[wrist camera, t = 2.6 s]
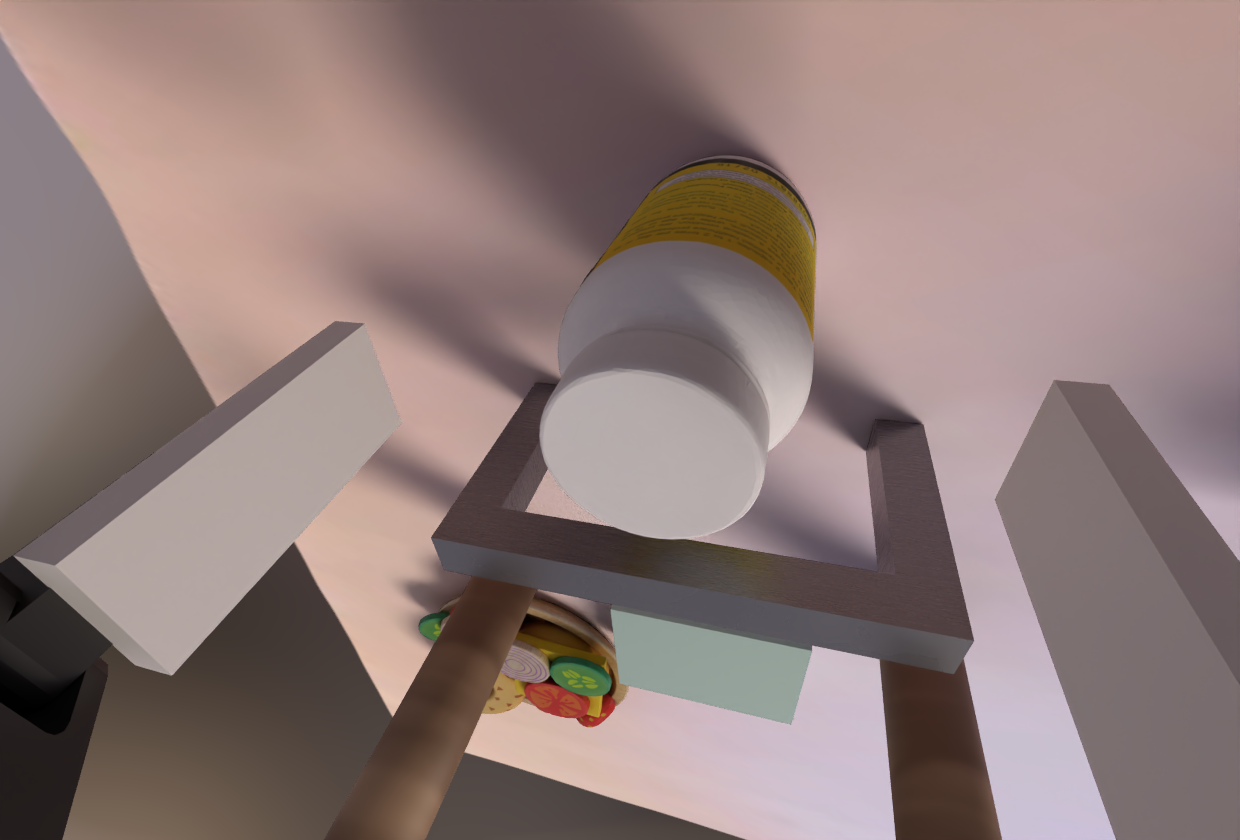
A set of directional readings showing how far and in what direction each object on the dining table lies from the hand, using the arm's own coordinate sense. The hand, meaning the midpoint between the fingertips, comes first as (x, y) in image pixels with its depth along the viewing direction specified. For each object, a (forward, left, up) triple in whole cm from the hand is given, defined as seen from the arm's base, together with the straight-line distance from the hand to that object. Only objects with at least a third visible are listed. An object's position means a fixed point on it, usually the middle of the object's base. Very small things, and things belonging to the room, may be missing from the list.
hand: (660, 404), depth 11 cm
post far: (+15, -9, -8) cm, 19 cm away
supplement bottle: (0, 0, -8) cm, 8 cm away
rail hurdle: (+6, 0, -8) cm, 10 cm away
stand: (+20, +1, -8) cm, 21 cm away
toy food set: (+26, -11, -8) cm, 30 cm away
